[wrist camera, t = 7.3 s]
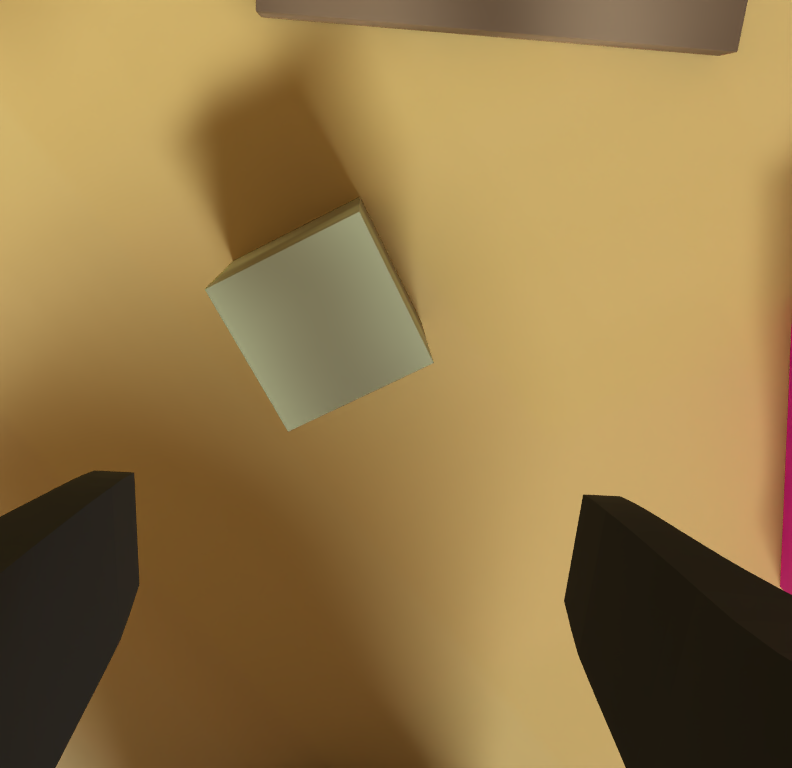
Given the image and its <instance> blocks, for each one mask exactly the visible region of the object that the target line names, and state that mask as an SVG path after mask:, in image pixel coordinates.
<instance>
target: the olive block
mask: <svg viewBox="0 0 792 768" xmlns="http://www.w3.org/2000/svg"><path fill="white" fill-rule="evenodd" d="M205 291H206V292H207V294H208V296H209V298H210V299H211V301H212V303H213V304H214V306H215V308H216V310H217V311H218V313H219V315H220V316H221V318H222V320H223V321H224V323H225V325H226V327H227V328H228V330H229V332H230V333H231V335H232V337H233V339H234V340H235V342H236V344H237V345H238V347H239V349H240V350H241V352H242V354H243V356H244V357H245V359H246V361H247V362H248V364H249V366H250V368H251V369H252V371H253V373H254V374H255V376H256V378H257V379H258V381H259V383H260V385H261V386H262V388H263V390H264V391H265V393H266V395H267V397H268V398H269V400H270V402H271V403H272V405H273V407H274V408H275V410H276V412H277V414H278V415H279V417H280V419H281V420H282V422H283V424H284V425H285V427H286V429H287V431H288V432H289V431H291V430H293V429H295V428H297V427H299V426H301V425H303V424H306V423H308V422H310V421H312V420H314V419H316V418H318V417H320V416H322V415H325V414H327V413H329V412H331V411H333V410H335V409H337V408H339V407H341V406H344V405H346V404H348V403H350V402H352V401H354V400H356V399H358V398H360V397H363V396H365V395H367V394H369V393H371V392H373V391H375V390H377V389H380V388H382V387H384V386H386V385H388V384H390V383H392V382H394V381H396V380H399V379H401V378H403V377H405V376H407V375H409V374H411V373H413V372H415V371H418V370H420V369H422V368H424V367H426V366H428V365H430V364H432V363H434V362H433V359H432V356H431V353H430V349H429V346H428V343H427V340H426V336H425V333H424V330H423V327H422V323H421V321H420V319H419V317H418V315H417V313H416V311H415V309H414V307H413V305H412V303H411V301H410V299H409V296H408V294H407V292H406V290H405V288H404V286H403V284H402V282H401V280H400V278H399V276H398V274H397V272H396V270H395V268H394V266H393V264H392V262H391V260H390V258H389V256H388V253H387V251H386V249H385V247H384V245H383V243H382V241H381V239H380V237H379V235H378V233H377V231H376V229H375V227H374V225H373V223H372V221H371V219H370V217H369V215H368V212H367V210H366V208H365V206H364V204H363V202H362V200H361V198H360V197H359V198H357V199H355V200H353V201H351V202H349V203H347V204H345V205H343V206H341V207H339V208H337V209H335V210H333V211H331V212H329V213H327V214H325V215H323V216H321V217H319V218H317V219H315V220H313V221H311V222H309V223H307V224H305V225H303V226H301V227H299V228H297V229H295V230H293V231H291V232H289V233H287V234H285V235H283V236H281V237H280V238H278V239H276V240H274V241H272V242H270V243H268V244H266V245H264V246H262V247H260V248H258V249H256V250H254V251H252V252H250V253H248V254H246V255H244V256H242V257H240V258H238V259H236V260H234V261H233V262H232V263H231V264H230V265H229V266H228V267H227V268H226V269H225V270H224V271H223V272H222V273H221V274H220V275H219V276H218V277H217V278H216V279H215V280H214V281H213V282H212V283H211V284H210V285H209V286H208V287H207V288H206V289H205Z"/></svg>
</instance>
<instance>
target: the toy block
mask: <svg viewBox="0 0 792 768" xmlns="http://www.w3.org/2000/svg"><path fill="white" fill-rule="evenodd" d="M780 587H781V588H782V589H783V590H784V591H785V592H787V593H789V594H791V595H792V326H791V349H790V372H789V395H788V418H787V441H786V464H785V487H784V509H783V532H782V555H781V578H780Z"/></svg>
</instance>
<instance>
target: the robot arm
mask: <svg viewBox="0 0 792 768" xmlns="http://www.w3.org/2000/svg"><path fill="white" fill-rule="evenodd" d="M138 587H139V568H138V546H137V524H136V503H135V481H134V473H131V472H110V471H93V472H90V473H87V474H84V475H82V476H80V477H78V478H76V479H73V480H71V481H69V482H67V483H65V484H63V485H61V486H59V487H57V488H55V489H53V490H51V491H50V492H48V493H46V494H44V495H42V496H40V497H38V498H36V499H34V500H32V501H30V502H28V503H26V504H24V505H22V506H20V507H18V508H17V509H15V510H13V511H11V512H9V513H7V514H5V515H3V516H1V517H0V768H55V767H56V765H57V763H58V761H59V759H60V758H61V756H62V754H63V752H64V750H65V748H66V746H67V744H68V742H69V740H70V738H71V736H72V734H73V732H74V730H75V728H76V726H77V724H78V722H79V720H80V719H81V717H82V715H83V713H84V711H85V709H86V707H87V705H88V703H89V701H90V699H91V697H92V695H93V693H94V691H95V689H96V687H97V685H98V683H99V681H100V679H101V678H102V676H103V674H104V672H105V670H106V668H107V666H108V664H109V662H110V660H111V658H112V656H113V654H114V652H115V650H116V647H117V645H118V643H119V641H120V639H121V636H122V634H123V631H124V628H125V625H126V623H127V620H128V617H129V614H130V611H131V608H132V605H133V602H134V599H135V596H136V593H137V590H138ZM564 602H565V606H566V610H567V614H568V618H569V623H570V627H571V631H572V634H573V638H574V641H575V645H576V648H577V652H578V655H579V658H580V660H581V663H582V665H583V668H584V670H585V673H586V675H587V677H588V680H589V682H590V685H591V687H592V689H593V692H594V694H595V697H596V699H597V701H598V704H599V706H600V708H601V711H602V713H603V715H604V718H605V720H606V722H607V725H608V727H609V729H610V732H611V734H612V736H613V739H614V741H615V743H616V746H617V748H618V750H619V753H620V755H621V757H622V760H623V762H624V764H625V767H626V768H792V595H791V594H789V593H787V592H785V591H783V590H781V589H779V588H777V587H776V586H774V585H772V584H770V583H768V582H766V581H765V580H763V579H761V578H759V577H757V576H756V575H754V574H752V573H750V572H748V571H746V570H745V569H743V568H741V567H739V566H738V565H736V564H734V563H733V562H731V561H729V560H727V559H726V558H724V557H722V556H721V555H719V554H717V553H716V552H714V551H712V550H711V549H709V548H707V547H706V546H704V545H702V544H701V543H699V542H698V541H696V540H694V539H693V538H691V537H689V536H688V535H686V534H685V533H683V532H681V531H680V530H678V529H677V528H675V527H673V526H672V525H670V524H669V523H667V522H665V521H664V520H662V519H660V518H659V517H657V516H656V515H654V514H652V513H651V512H649V511H647V510H645V509H644V508H642V507H640V506H638V505H637V504H635V503H633V502H631V501H629V500H627V499H625V498H622V497H620V496H601V495H583V499H582V504H581V510H580V516H579V521H578V527H577V532H576V538H575V543H574V549H573V555H572V560H571V566H570V571H569V577H568V582H567V588H566V594H565V599H564Z"/></svg>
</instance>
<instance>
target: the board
mask: <svg viewBox="0 0 792 768" xmlns="http://www.w3.org/2000/svg"><path fill="white" fill-rule="evenodd" d="M747 2H748V0H256V12H257V13H258V14H259V15H260V16H261V17H267V18H278V19H290V20H302V21H314V22H326V23H338V24H349V25H361V26H373V27H385V28H397V29H409V30H420V31H432V32H444V33H456V34H468V35H480V36H491V37H503V38H515V39H527V40H539V41H551V42H562V43H574V44H586V45H598V46H610V47H622V48H633V49H645V50H657V51H669V52H681V53H693V54H705V55H716V56H720V55H725V54H729V53H734V52H737V50H738V45H739V40H740V36H741V31H742V26H743V21H744V16H745V11H746V6H747Z"/></svg>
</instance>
